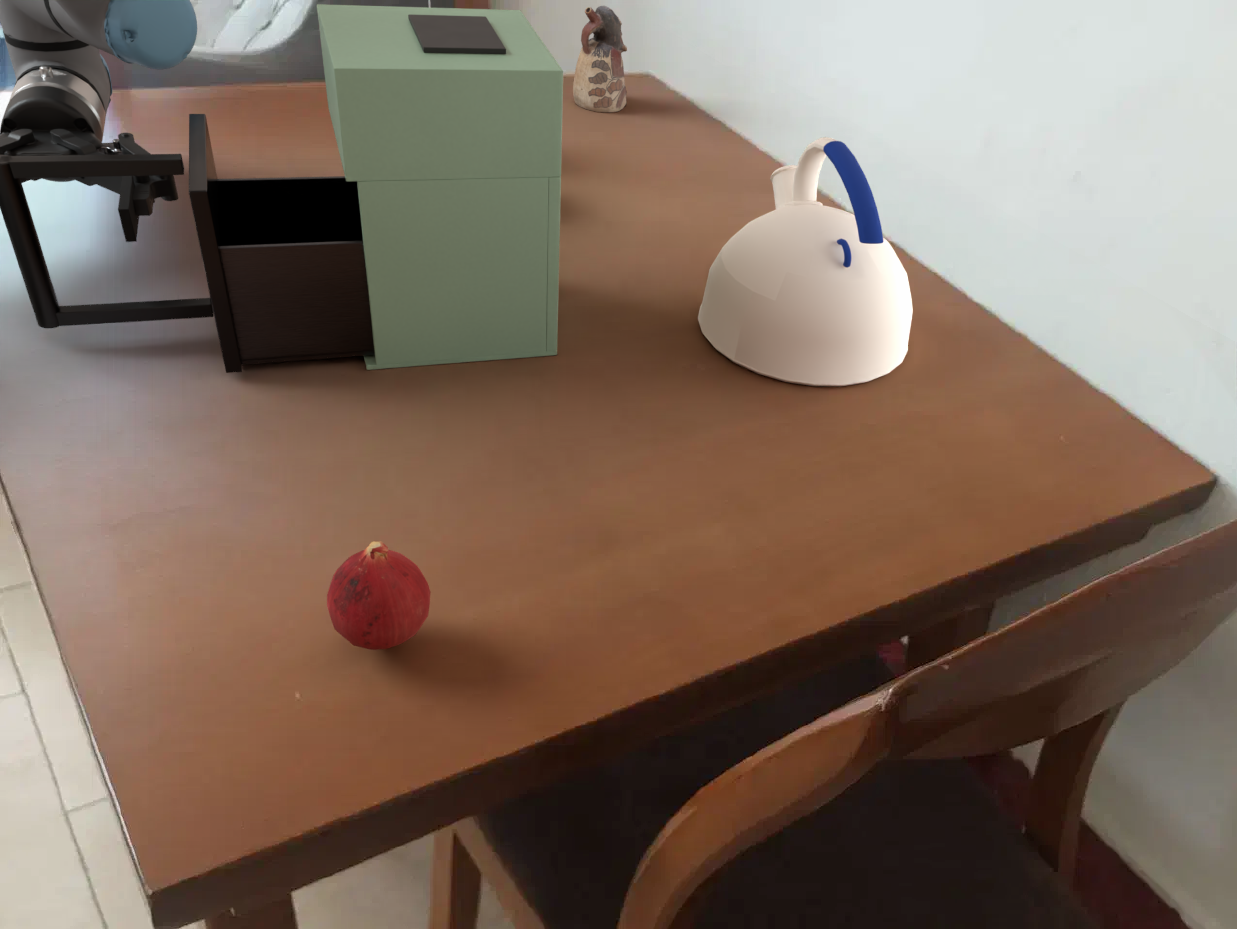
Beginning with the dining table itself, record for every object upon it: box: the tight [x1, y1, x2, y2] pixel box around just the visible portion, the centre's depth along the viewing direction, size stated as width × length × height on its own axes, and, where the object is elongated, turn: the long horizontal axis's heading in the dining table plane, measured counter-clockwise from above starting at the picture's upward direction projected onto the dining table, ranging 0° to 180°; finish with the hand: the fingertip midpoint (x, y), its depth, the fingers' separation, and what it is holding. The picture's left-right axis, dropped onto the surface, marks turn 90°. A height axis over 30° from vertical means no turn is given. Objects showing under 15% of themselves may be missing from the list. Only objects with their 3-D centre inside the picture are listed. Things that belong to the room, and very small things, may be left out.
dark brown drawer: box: [0, 113, 375, 374], centre depth 86 cm, size 28×15×15 cm, turn 110°
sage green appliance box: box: [316, 3, 564, 371], centre depth 89 cm, size 16×15×24 cm
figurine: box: [572, 5, 628, 113], centre depth 141 cm, size 7×7×12 cm
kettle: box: [697, 136, 914, 387], centre depth 98 cm, size 20×21×18 cm
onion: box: [326, 540, 432, 651], centre depth 64 cm, size 6×6×8 cm
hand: (28, 229), depth 83 cm, fingers open, 13 cm apart
